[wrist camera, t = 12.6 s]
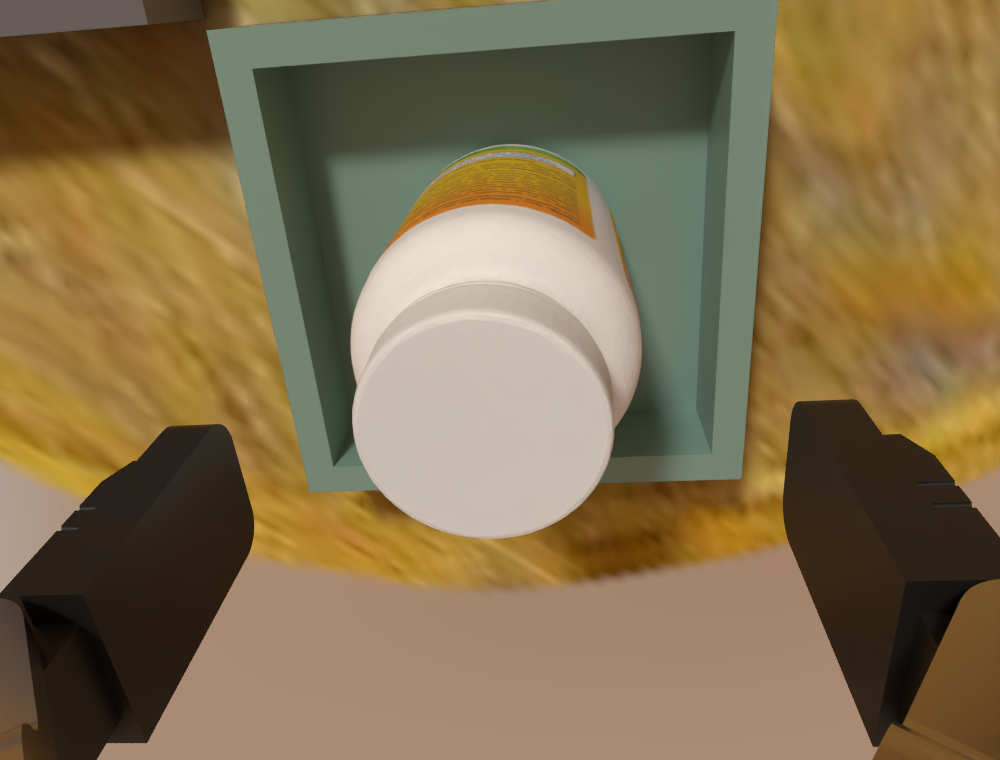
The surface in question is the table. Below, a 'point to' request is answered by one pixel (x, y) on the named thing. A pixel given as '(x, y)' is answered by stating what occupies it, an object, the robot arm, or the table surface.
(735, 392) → the tray
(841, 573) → the robot arm
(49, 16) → the socket block
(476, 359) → the supplement bottle
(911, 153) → the table surface
